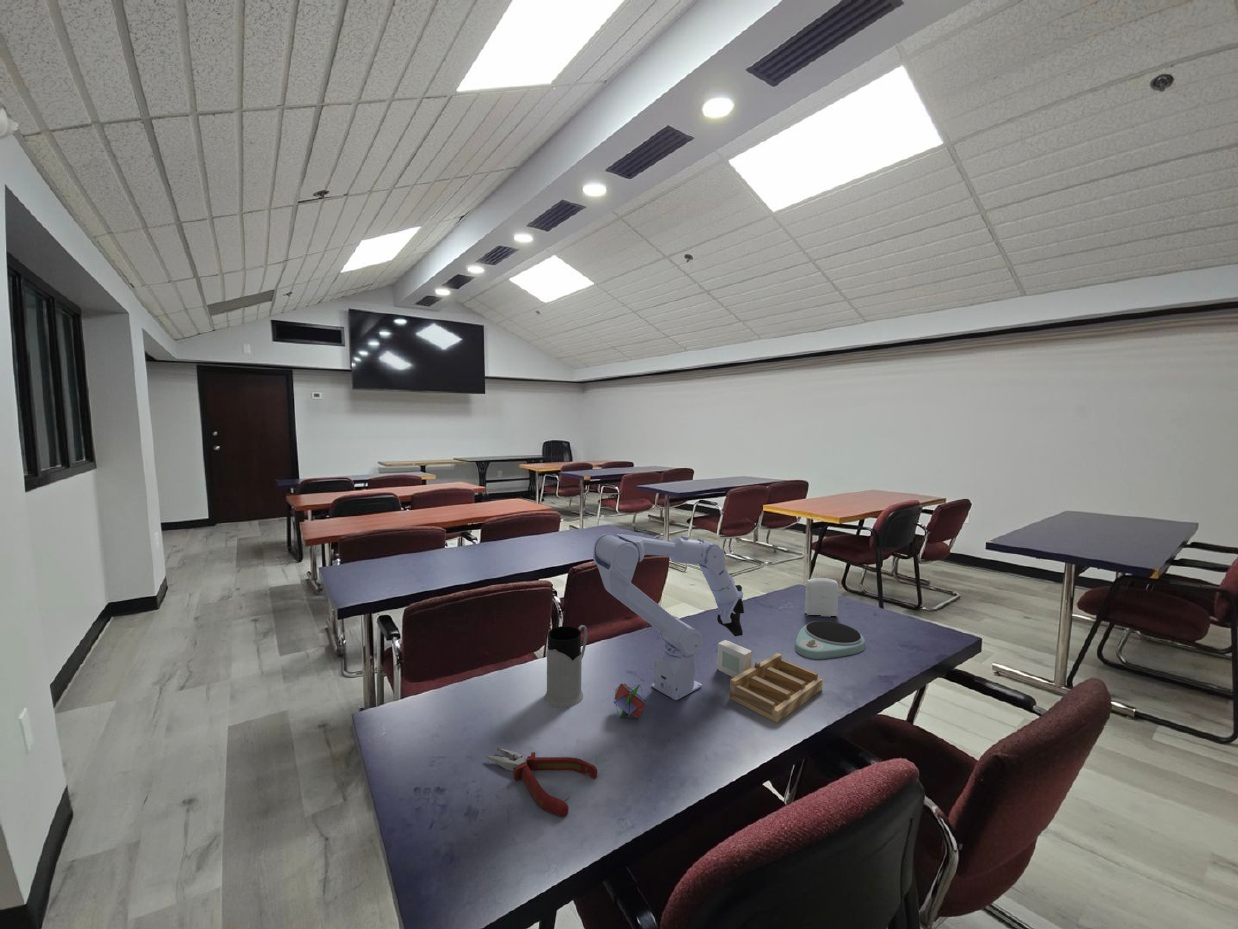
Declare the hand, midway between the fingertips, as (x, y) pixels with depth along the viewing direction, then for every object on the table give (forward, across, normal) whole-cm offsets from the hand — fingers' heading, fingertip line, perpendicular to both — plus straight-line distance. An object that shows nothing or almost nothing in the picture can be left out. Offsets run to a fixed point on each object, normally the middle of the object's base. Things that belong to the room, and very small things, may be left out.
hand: (739, 623), depth 125 cm
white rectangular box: (+9, -8, +4) cm, 12 cm away
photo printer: (+35, +36, -13) cm, 52 cm away
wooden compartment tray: (+10, -13, -6) cm, 18 cm away
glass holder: (-11, -26, +36) cm, 45 cm away
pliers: (-18, -50, +27) cm, 60 cm away
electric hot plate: (+27, +16, -15) cm, 35 cm away
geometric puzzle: (-7, -30, +20) cm, 37 cm away
